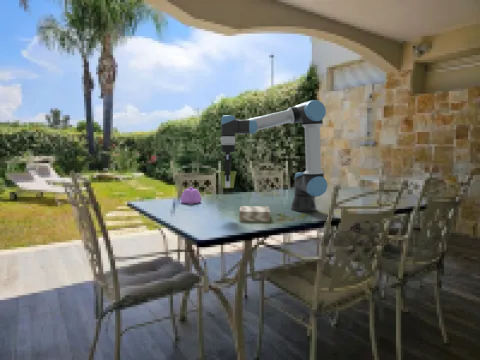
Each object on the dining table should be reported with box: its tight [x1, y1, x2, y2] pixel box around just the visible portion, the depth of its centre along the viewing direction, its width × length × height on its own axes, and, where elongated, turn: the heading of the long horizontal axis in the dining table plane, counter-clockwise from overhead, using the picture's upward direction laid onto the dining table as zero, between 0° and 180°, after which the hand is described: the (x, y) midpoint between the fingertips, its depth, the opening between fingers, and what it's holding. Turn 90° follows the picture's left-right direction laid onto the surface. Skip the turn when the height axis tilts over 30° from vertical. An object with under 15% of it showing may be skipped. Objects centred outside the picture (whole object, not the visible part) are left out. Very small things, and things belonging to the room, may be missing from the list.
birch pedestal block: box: [238, 205, 271, 222], centre depth 196 cm, size 16×16×5 cm
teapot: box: [180, 186, 202, 205], centre depth 245 cm, size 14×20×11 cm
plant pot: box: [219, 170, 238, 189], centre depth 197 cm, size 9×9×9 cm
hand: (228, 186), depth 197 cm, fingers closed on plant pot, 8 cm apart
